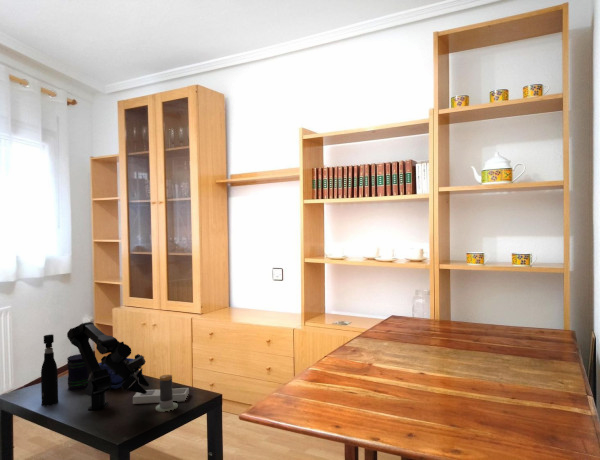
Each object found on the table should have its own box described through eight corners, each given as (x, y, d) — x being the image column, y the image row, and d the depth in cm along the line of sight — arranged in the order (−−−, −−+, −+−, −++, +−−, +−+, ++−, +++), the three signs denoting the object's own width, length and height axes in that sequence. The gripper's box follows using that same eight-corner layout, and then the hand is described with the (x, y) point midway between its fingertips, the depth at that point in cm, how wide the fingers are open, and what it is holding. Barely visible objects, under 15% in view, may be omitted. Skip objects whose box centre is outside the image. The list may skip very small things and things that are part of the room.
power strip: (185, 401, 190) (185, 393, 190) (132, 403, 188) (132, 396, 188) (188, 394, 198) (188, 387, 198) (138, 397, 196) (138, 390, 196)
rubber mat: (175, 411, 179) (175, 409, 179) (153, 412, 178) (153, 411, 178) (179, 403, 188) (179, 401, 188) (158, 404, 187) (158, 402, 187)
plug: (171, 408, 180) (171, 378, 181) (158, 409, 180) (157, 378, 180) (174, 403, 186) (173, 374, 186) (161, 404, 186) (160, 374, 186)
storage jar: (94, 383, 217) (93, 353, 217) (82, 390, 207) (81, 359, 207) (76, 383, 218) (75, 353, 218) (63, 390, 208) (62, 359, 209)
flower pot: (95, 388, 210) (95, 363, 211) (117, 379, 223) (117, 356, 223) (115, 391, 205) (115, 366, 205) (137, 382, 217) (136, 358, 217)
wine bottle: (61, 400, 196) (59, 333, 196) (53, 405, 189) (52, 336, 190) (46, 400, 195) (45, 334, 196) (38, 406, 189) (37, 337, 189)
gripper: (129, 356, 171) (159, 381, 174) (136, 345, 190) (162, 367, 192) (108, 378, 170) (139, 403, 172) (117, 364, 188) (144, 387, 190)
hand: (147, 389), depth 182 cm, fingers open, 9 cm apart
